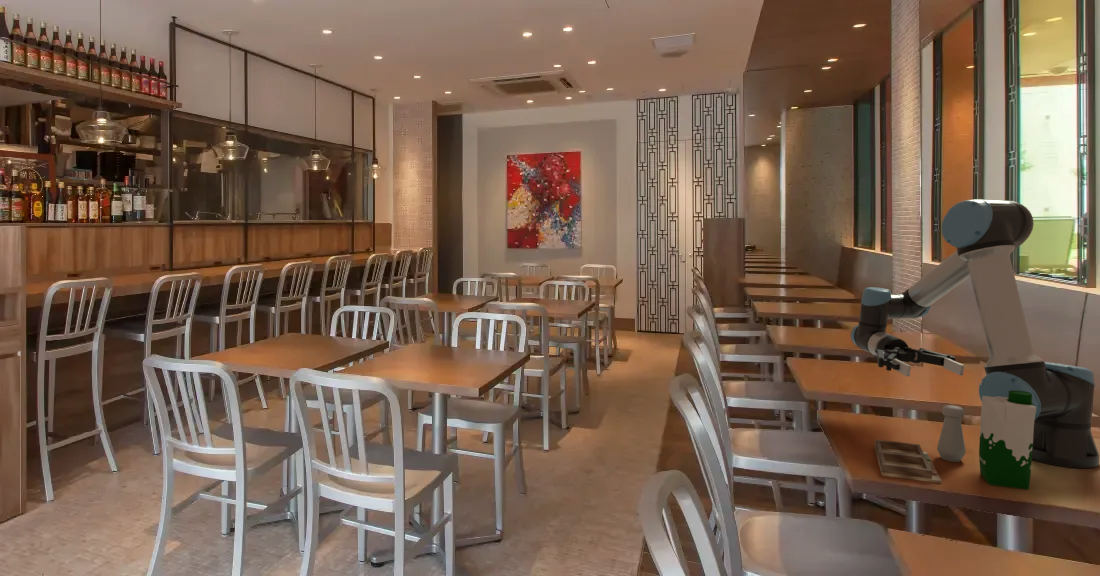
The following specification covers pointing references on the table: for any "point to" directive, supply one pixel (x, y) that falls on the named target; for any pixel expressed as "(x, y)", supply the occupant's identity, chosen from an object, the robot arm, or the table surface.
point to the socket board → (905, 461)
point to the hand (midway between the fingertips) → (935, 370)
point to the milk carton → (1007, 439)
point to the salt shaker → (952, 435)
